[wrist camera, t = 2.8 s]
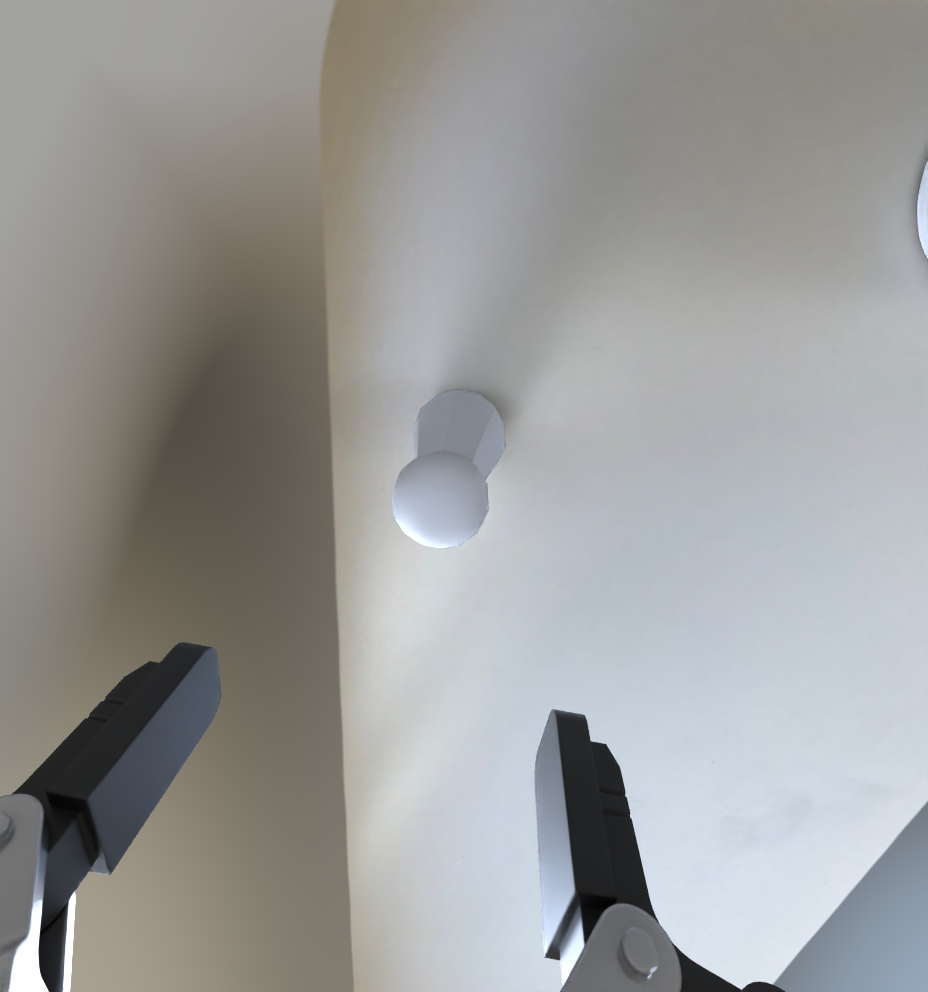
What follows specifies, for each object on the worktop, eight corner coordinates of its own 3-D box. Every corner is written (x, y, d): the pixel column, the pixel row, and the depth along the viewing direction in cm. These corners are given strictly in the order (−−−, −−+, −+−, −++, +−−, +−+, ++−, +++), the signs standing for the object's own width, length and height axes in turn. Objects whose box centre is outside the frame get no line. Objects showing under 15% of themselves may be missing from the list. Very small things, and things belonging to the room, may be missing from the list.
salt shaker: (506, 465, 33) (505, 572, 21) (424, 466, 33) (379, 572, 22) (504, 379, 30) (503, 447, 19) (416, 383, 31) (361, 450, 19)
